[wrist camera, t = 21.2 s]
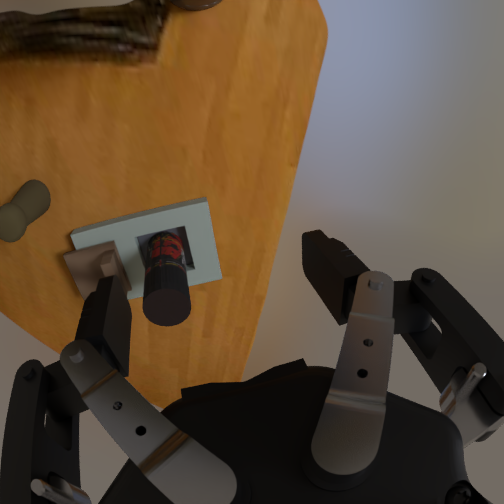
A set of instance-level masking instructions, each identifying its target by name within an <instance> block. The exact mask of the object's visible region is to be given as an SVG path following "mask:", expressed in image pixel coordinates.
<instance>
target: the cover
mask: <svg viewBox="0 0 504 504" xmlns="http://www.w3.org/2000/svg"><path fill="white" fill-rule="evenodd" d="M63 257H64V259H65V261H66V264H67V266H68V268H69V270H70V272H71V275H72V277H73V279H74V281H75V283H76V285H77V287H78V289H79V291H80V293H81V295H82V297H83V299H84V301H85V300H86V298H87V297H88V296H89V294H90V293H91V292H94V291H96V288H97V284H98V281H99V279H100V278H103V277H107V276H111V275H117V276H118V278H119V280H120V283H121V285H122V288H123V290H124V292H125V295H126V297H127V293H128V291H132V287H131V284H130V282H129V279H128V276H127V274H126V271H125V269H124V266H123V263H122V261H121V258H120V255H119V252H118V250H117V247H116V244H115V241H114V240H113V241H109V242H105V243H102V244H98V245H94V246H90V247H86V248H82V249H79V250H75V251H71V252H68V253H64V255H63Z"/></svg>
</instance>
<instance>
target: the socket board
mask: <svg viewBox="0 0 504 504" xmlns="http://www.w3.org/2000/svg"><path fill="white" fill-rule="evenodd" d="M162 231H168V232H172V233H175V234H176V235H178V236H179V237H180V239H181V240H182V242H183V246H184V255H185V263H186V272H187V279H188V286H192V285H197V284H201V283H205V282H210V281H214V280H218V279H222V275H221V270H220V265H219V260H218V255H217V250H216V244H215V239H214V234H213V229H212V223H211V218H210V212H209V207H208V201H207V198H206V197H203V198H198V199H194V200H189V201H185V202H180V203H176V204H171V205H167V206H163V207H158V208H154V209H150V210H146V211H142V212H138V213H134V214H130V215H126V216H122V217H118V218H114V219H110V220H106V221H103V222H99V223H95V224H92V225H88V226H85V227H81V228H77V229H74V230H73V232H72V233H71V235H70V236H71V238H72V241H73V243H74V246H75V248H76V250H79V249H82V248H86V247H90V246H94V245H98V244H102V243H105V242H109V241H113V240H114V241H115V244H116V247H117V250H118V252H119V255H120V258H121V261H122V263H123V266H124V269H125V271H126V274H127V276H128V279H129V282H130V284H131V287H132V291H128V293H127V299H128V300H129V299H133V298H138V297H142V296H143V291H144V277H145V265H146V263H145V262H146V255H147V246H148V242H149V240H150V238H151V237H152V236H153V235H155V234H156V233H159V232H162ZM187 237H188V238H187ZM137 238H138V239H137ZM138 241H139V242H138ZM188 241H189V242H188ZM139 244H140V245H139ZM140 247H141V248H140ZM141 250H142V251H141ZM142 253H143V254H142ZM143 256H144V257H143ZM144 259H145V260H144Z"/></svg>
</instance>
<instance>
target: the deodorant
mask: <svg viewBox="0 0 504 504" xmlns="http://www.w3.org/2000/svg"><path fill="white" fill-rule="evenodd" d="M190 311H191V301H190V294H189V287H188V279H187V272H186V263H185V255H184V246H183V242H182V240H181V239H180V237H179V236H178V235H176V234H175V233H172V232H168V231H162V232H159V233H156V234H155V235H153V236H152V237H151V238H150V240H149V242H148V246H147V255H146V265H145V277H144V291H143V313H144V314H145V316H146V318H147V319H148V320H149V321H151V322H153V323H154V324H157V325H160V326H174V325H177V324H179V323H181V322H183V321H184V320H185V319H187V317H188V316H189V314H190Z"/></svg>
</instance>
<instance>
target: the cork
mask: <svg viewBox="0 0 504 504" xmlns="http://www.w3.org/2000/svg"><path fill="white" fill-rule="evenodd" d="M50 201H51V198H50V193H49V190H48V188H47V187H46V186H45V184H44V183H42V182H41V181H38V180H29V181H28V182H26V183H25V184H24V185H23V186H22V187H21V189H20V190H19V191H18V192H17V194H16V195H15V196H14V198H13V199H12V200H11V202H10V203H7V204H4V205H3V206H1V207H0V238H1V239H2V240H4V241H6V242H15V241H17V240H19V239H20V238H21V237H22V236H23V235H24V233H25V231H26V228H27V226H28V225H29V224H30V223H32V222H33V221H34V220H36V219H37V218H39V217H40V216H41V215H43V214H44V213H45V212H46V211H47V210H48V208H49V206H50Z"/></svg>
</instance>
